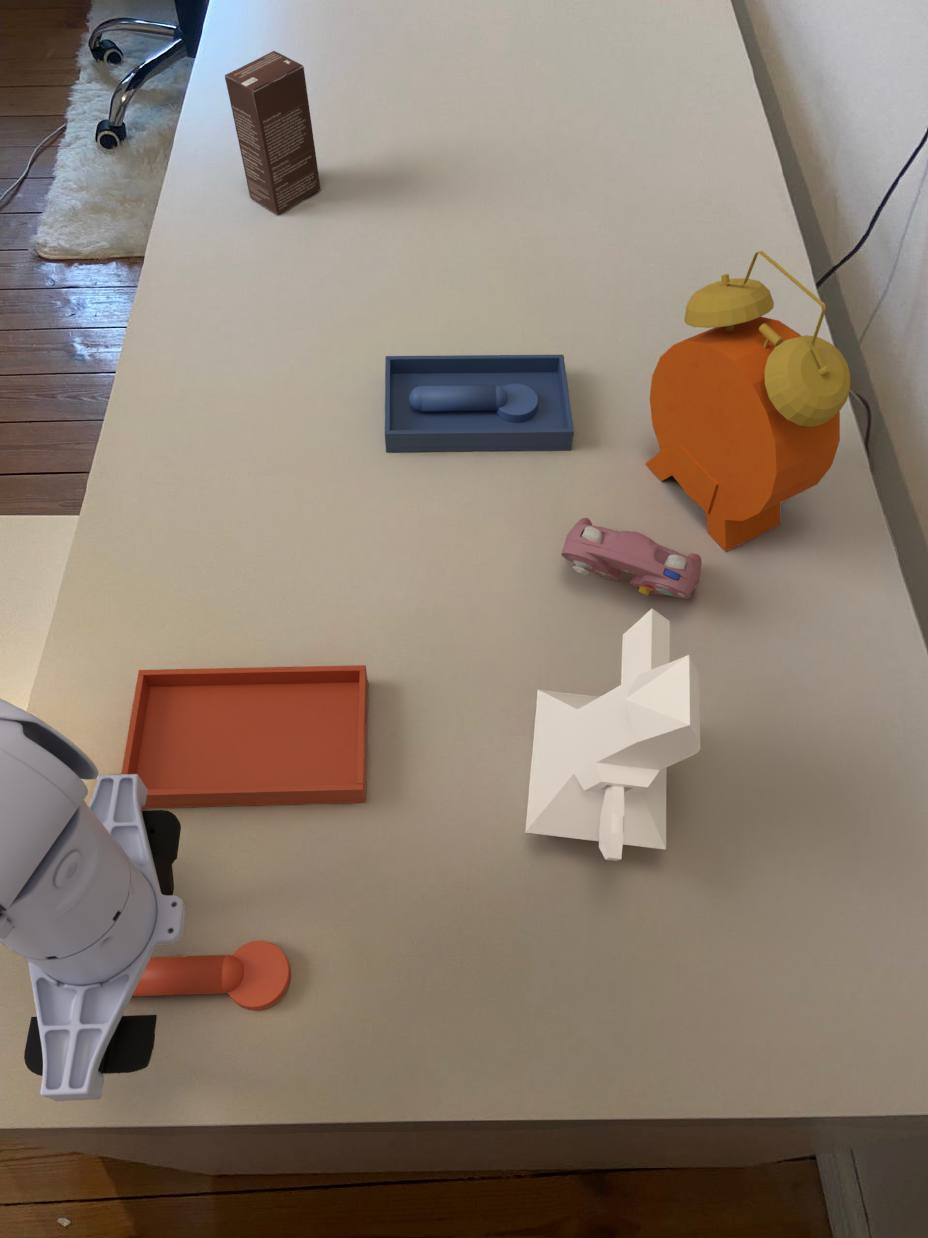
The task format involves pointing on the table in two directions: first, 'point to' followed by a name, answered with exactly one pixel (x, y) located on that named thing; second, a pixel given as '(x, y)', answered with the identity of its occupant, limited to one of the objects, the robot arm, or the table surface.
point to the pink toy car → (631, 559)
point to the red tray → (249, 736)
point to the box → (274, 130)
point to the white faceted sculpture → (615, 747)
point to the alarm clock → (746, 408)
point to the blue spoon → (478, 400)
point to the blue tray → (476, 427)
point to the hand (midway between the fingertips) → (144, 968)
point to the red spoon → (222, 975)
